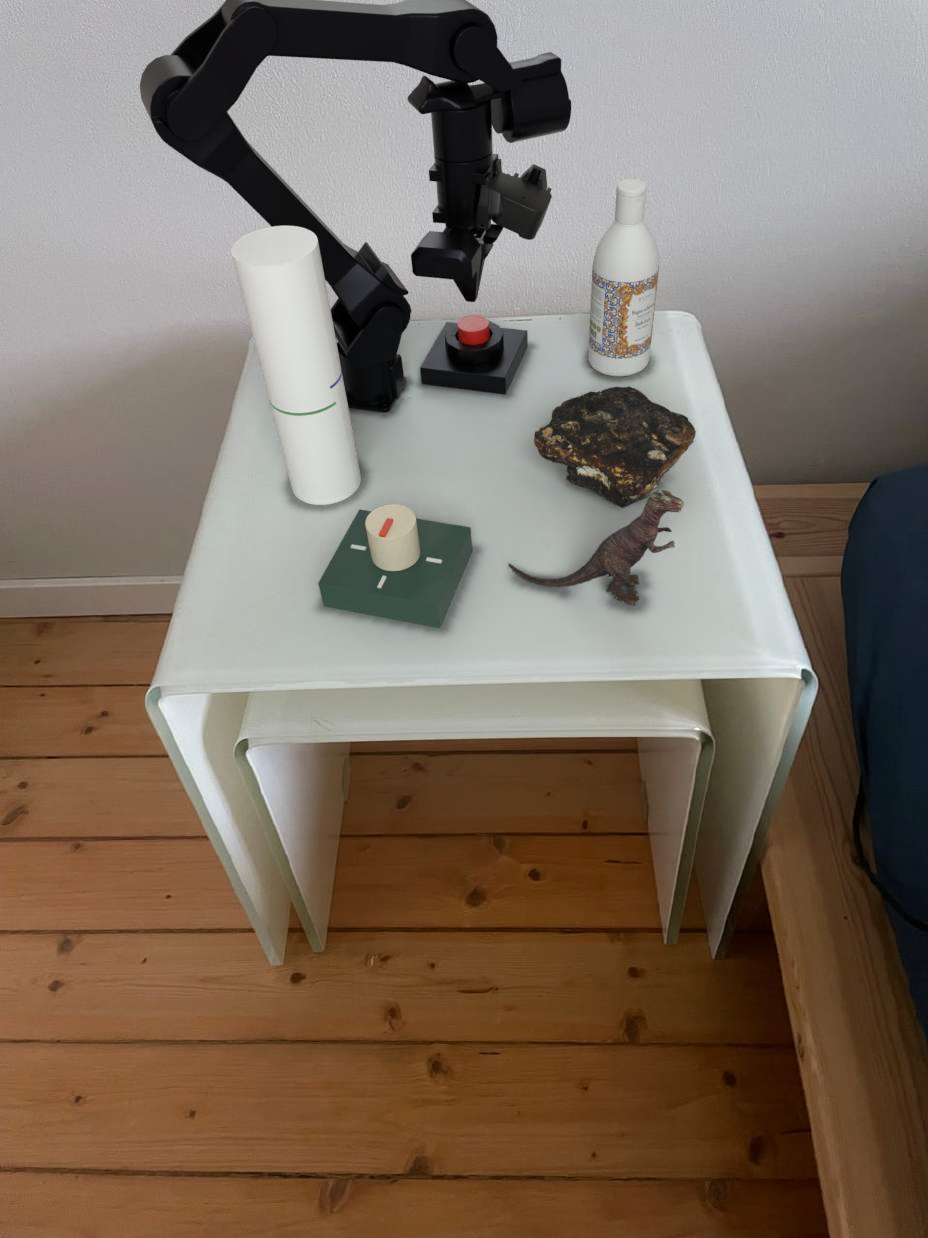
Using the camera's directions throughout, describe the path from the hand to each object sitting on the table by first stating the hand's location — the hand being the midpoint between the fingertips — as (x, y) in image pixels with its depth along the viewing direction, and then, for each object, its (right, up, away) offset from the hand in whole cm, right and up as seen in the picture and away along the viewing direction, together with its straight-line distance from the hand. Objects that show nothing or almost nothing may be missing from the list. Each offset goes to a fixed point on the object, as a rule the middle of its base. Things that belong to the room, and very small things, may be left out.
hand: (471, 300), depth 100 cm
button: (0, -3, +3) cm, 5 cm away
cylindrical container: (-15, -21, -6) cm, 27 cm away
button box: (+1, -5, +6) cm, 8 cm away
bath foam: (+17, -6, +5) cm, 19 cm away
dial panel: (-7, -31, -17) cm, 36 cm away
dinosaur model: (+10, -32, -19) cm, 39 cm away
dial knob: (-7, -29, -19) cm, 35 cm away
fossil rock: (+14, -21, -8) cm, 26 cm away
